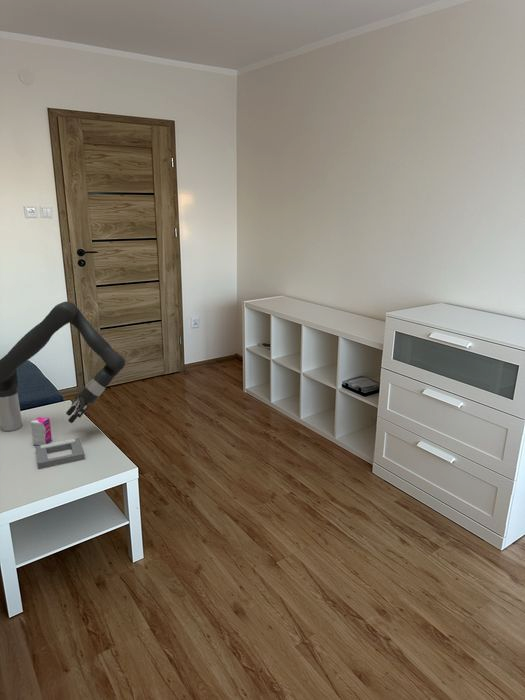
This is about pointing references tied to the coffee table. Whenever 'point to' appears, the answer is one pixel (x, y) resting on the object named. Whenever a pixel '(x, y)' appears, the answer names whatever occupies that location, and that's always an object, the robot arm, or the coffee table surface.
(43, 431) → the supplement box
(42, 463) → the divided tray
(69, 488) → the coffee table surface
